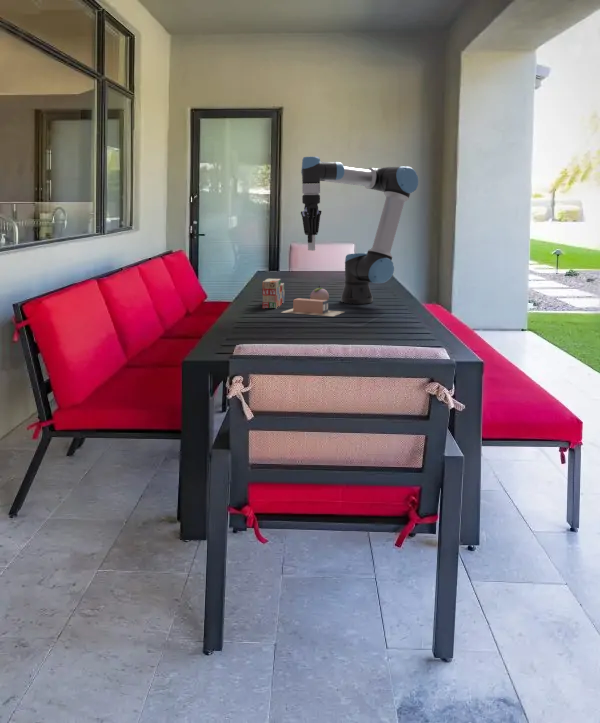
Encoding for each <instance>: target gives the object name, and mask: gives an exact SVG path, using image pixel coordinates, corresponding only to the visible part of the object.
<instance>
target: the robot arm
mask: <svg viewBox="0 0 600 723" xmlns="http://www.w3.org/2000/svg"><path fill="white" fill-rule="evenodd" d="M300 173H301V179H302V181H301V184H302V186H301V189H302V191H301V192H302V194H303V195H302V196H301V197H302V204H303V205H304V207H303V211H300V215H301V218H302V225H303V232H304V234H305V235H306V236H307V251H314V252H315V250H316V235H318V234H319V231H320V222H321V215H322V210H320V209H319V204H321V195H320V194H321V182H326V183H328V182H329V183H335V184H337V183H338V184H344V185H351V186H352V185H353V186H360V187H361V186H362V187H365V189H369V190H374V191H377V192H378V191H379V192H381V193H382V192H383V194H384V195H385V200H384V205H383V208H382V212H381V215H380V218H379V222H378V225H377V229H376V234H375V237H374V240H373V244H372V247H370V249H368V250H367V252H357V253H356V252H355V253H348V254H346V256H345V260H344V286H343V289H342V293H341V296H340V302H341V303H343V302H344V304H352V303H353V305H354V304H357V305H360V304H362V305H363V304H371V303H373V299H374V298H373V295H372V290H371V288H370V283H373V284H384V283H386V282H388V281H390V279H391V278H392V276H394V275H393V274H394V271H395V265H394V262H393V261H392V260H393V255H392V253H391V251H392V248H393V245H394V240H395V237H396V233H397V230H398V226H399V223H400V219H401V215H402V212H403V209H404V204H405V202H407V201H408V200H409V199H410V196H411V194H412V193H414V192H415V191H416V190H417V188H418V186H419V175H418V174H417V172H416V170H415V169H414V168H412V167H411V166H404V165H402V166H386V167H376V168H375V167H368V168H367V169H365V168H357V167H351V166H350V167H349V166H344V164H343V163H342V162H340V161H321V158H320V157H319V156H304V157H303V158H302V162H301V171H300Z"/></svg>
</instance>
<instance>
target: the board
mask: <svg viewBox="0 0 600 723" xmlns="http://www.w3.org/2000/svg"><path fill="white" fill-rule="evenodd" d="M281 313H283V314H284V313H285V314H296V315H297V314H298V315H307V316H308V315H311V316H320V317H321V316H323V317H324V316H325V317H337V316H340V314H344V313H345V311H339V310H328V312H327V313H324V314H323V313H310V312H296V311H293V308H290V309H286V310H283V311H281V312H280V314H281Z"/></svg>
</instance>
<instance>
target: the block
mask: <svg viewBox="0 0 600 723" xmlns="http://www.w3.org/2000/svg"><path fill="white" fill-rule="evenodd" d="M292 302H293V303H292V306H293V307H292V309H293V311H296V312H310V313H323V314H324V313H327V312H328V311H329V300H316V299H310V298H300V297H298V298H295V299H293V301H292Z"/></svg>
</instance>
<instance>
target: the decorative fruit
mask: <svg viewBox="0 0 600 723" xmlns="http://www.w3.org/2000/svg"><path fill="white" fill-rule="evenodd" d="M309 299H316V300H328V301H329V300H330V295H329V292H328V291H327V290H326V289H325V288H324V287H320V285H318V288H314V289H313V290H312V291H311V292H310V294H309Z"/></svg>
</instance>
